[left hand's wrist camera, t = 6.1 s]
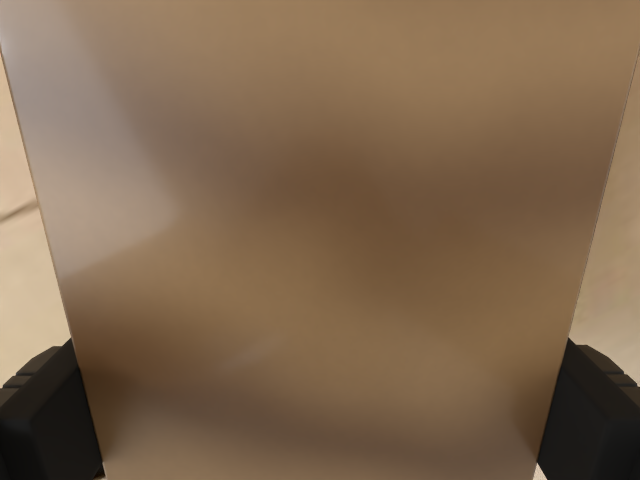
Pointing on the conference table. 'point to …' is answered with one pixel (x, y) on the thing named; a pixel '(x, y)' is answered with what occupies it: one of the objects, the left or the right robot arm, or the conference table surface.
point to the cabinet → (319, 222)
